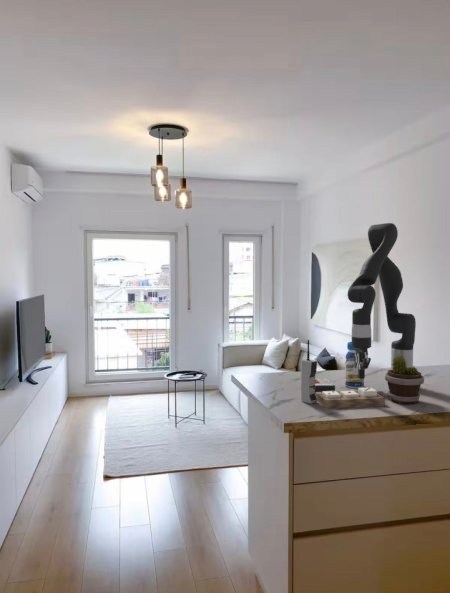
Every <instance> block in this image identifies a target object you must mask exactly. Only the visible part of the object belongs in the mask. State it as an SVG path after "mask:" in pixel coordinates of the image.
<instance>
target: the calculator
mask: <svg viewBox="0 0 450 593" xmlns="http://www.w3.org/2000/svg"><path fill="white" fill-rule="evenodd" d="M322 391H336V385H334V383H332V382H331V381H330V380H328V379H327V378H315V392H322Z"/></svg>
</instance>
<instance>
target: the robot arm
mask: <svg viewBox="0 0 450 593" xmlns="http://www.w3.org/2000/svg"><path fill="white" fill-rule="evenodd" d="M398 233H399V232H398V228H397V226H396V224H395V223H393V222H392V223H390V222H387V223H378V224H373V225H370V226H369V228H368V230H367V237H368V238H367V239H368V243H369V244H370V246H369V247H370V249H371V252H372V254H371V255H369V256H368V257H367V258H366V259H365V261H364V262H363V263H362V266H361V268H360V272H359V274H358V276H357V277H356V278H355V279H354V280H353V282H352V283H351V285H350V286H349V288H348V290H347V298H348V300H349V302H351V303H354V304H363V305H362V307H361V308H356V309H353V310H352V314H351V316H352V317H351V318H352V320H351V321H352V322H351V323H352V324H351V342H352V347H354V348H355V353H353V358H354V362H355V366H357V369H358V378H360V379H364V380H365V377H366V374H365V372H366V371H365V370H367V369H368V368H369V366H370V363H371V360H372V358H371V357H369V352H368V349H370V348H371V347H372V324H371V323H372V321H371V320H372V318H371V317H372V310H373V307H374V303H375V299H376V295H377V294H376V290H375V288H374V286H373V285H375V284H376V282H377V279H378V280H379V283H380V288H381V291H382V295H383V300H384V305H385V314H386V322H387V326H388V330H389V331H390V332H391V333H394V334H401V338H399V339H398V340H393V341H392V342H391V346H390V347H391V348H390V350H391V353H390V354H391V356H390V358H391V359H390V370H393V366H392V363H393V361H392V360H394V358H397V356H398V355H399V354H400V356H401V355H403V356H402V358H403V359H405V361H406V362H405V364H407V365H405V366H406V367H408V366H409V367H410V366H411V367H412V366H413V367H415V368H416V366H414V345H415V339H416V328H417V327H416V324H417V323H416V317H415V315H413V314H412V313H404V312H399V310H398V300H399V298H400V296H401V293H402V292H403V288H404V281H403V277H402V273H401V270H400V269H399V267H398V266H397V265H396V264H395V262H394V261H393V260H392V259H391V258H390V257H389V254H390V252H391V250H392V249H393V247H394V246H395V244H396V242H397V240H398ZM396 355H397V356H396ZM398 357H399V356H398ZM409 367H408V368H409Z"/></svg>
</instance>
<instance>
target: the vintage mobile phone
mask: <svg viewBox="0 0 450 593" xmlns="http://www.w3.org/2000/svg"><path fill="white" fill-rule="evenodd" d="M317 369H318V360H313V359H310V339H307V351H306V359H302V360H301V370H300V371H301V372H300V373H301V376H300V377H301V383H300V386H301V387H300V388H301V391H300V392H301V397H300V399H301V402H302V403H307V404H310V405H311V404H315V403H317V402H318V401H317V398H316V395H315V380H316V374H317Z"/></svg>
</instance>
